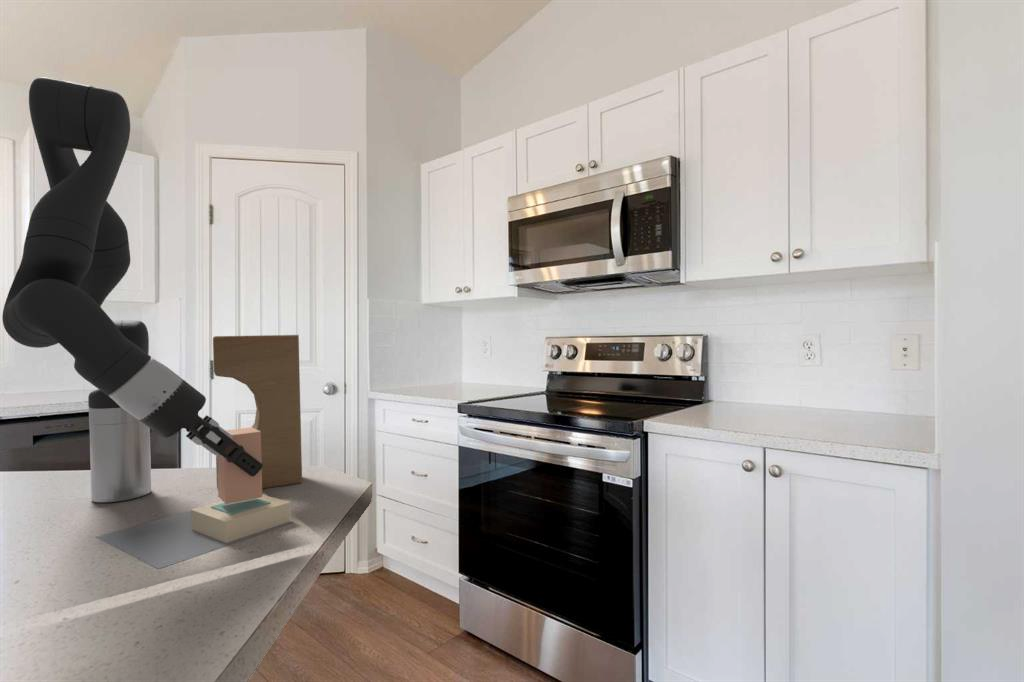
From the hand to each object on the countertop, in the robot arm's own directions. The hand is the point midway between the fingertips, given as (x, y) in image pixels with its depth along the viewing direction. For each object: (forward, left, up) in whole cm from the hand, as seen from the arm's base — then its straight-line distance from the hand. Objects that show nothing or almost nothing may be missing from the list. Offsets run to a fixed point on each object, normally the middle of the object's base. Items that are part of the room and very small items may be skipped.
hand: (252, 467), depth 83 cm
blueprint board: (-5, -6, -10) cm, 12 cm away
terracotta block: (-1, -2, -4) cm, 5 cm away
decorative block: (-23, +14, -10) cm, 28 cm away
